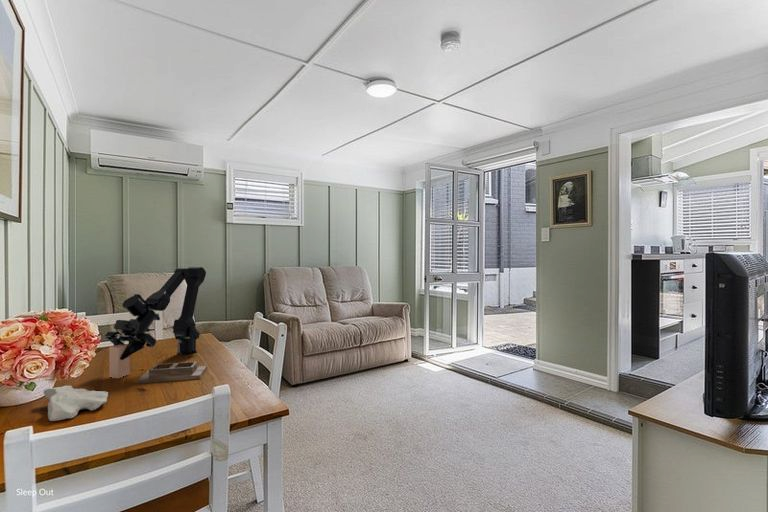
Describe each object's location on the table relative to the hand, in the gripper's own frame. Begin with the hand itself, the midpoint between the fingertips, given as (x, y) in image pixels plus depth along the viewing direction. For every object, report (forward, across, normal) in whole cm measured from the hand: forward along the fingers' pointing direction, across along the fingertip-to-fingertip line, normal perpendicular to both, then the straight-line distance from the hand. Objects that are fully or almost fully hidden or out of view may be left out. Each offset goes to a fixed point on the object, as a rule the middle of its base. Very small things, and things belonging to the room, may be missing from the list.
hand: (116, 359), depth 135 cm
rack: (0, +19, +9) cm, 21 cm away
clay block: (+4, 0, +6) cm, 7 cm away
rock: (+22, +13, -12) cm, 28 cm away
